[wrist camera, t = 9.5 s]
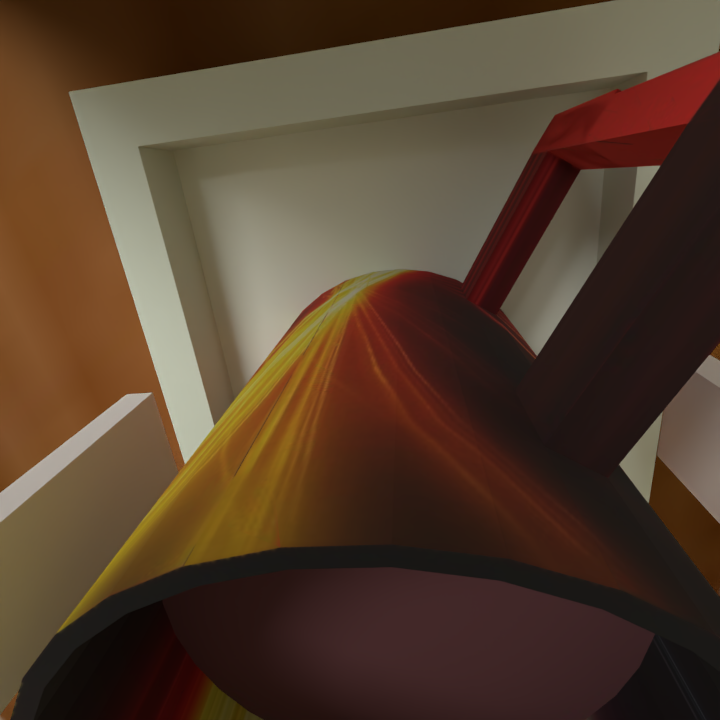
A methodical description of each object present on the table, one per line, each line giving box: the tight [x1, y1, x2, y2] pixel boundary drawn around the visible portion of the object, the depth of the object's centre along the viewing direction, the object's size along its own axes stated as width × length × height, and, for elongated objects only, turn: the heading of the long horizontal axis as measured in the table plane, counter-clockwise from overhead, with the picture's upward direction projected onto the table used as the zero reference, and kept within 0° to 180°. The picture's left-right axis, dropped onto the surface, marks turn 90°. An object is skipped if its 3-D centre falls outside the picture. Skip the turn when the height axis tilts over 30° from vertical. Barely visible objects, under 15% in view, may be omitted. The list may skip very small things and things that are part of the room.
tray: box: [69, 0, 720, 503], centre depth 16 cm, size 18×16×4 cm
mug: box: [11, 52, 720, 720], centre depth 10 cm, size 10×14×12 cm
